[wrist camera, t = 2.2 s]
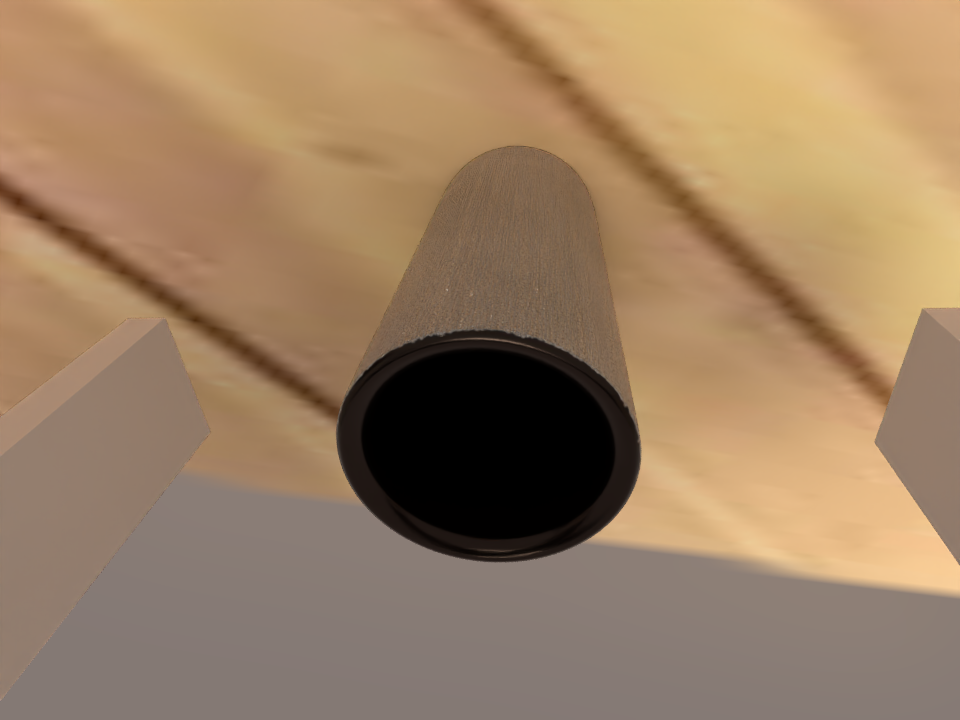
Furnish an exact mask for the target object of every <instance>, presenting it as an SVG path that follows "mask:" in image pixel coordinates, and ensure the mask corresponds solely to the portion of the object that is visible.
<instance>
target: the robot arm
mask: <svg viewBox="0 0 960 720" xmlns="http://www.w3.org/2000/svg"><path fill="white" fill-rule="evenodd" d="M209 433H210V430H209V427H208V425H207V422H206V419H205V417H204V414H203V412H202V409H201V407H200V404H199V402H198V399H197V397H196V394H195V392H194V389H193V387H192V384H191V382H190V379H189V377H188V374H187V372H186V369H185V367H184V364H183V362H182V359H181V357H180V354H179V352H178V349H177V346H176V344H175V341H174V339H173V336H172V334H171V331H170V329H169V326H168V324H167V321H166V319H165V318H128V319H127V320H125V321H124V322H123V323H121V324H120V325H119V326H117V327H116V328H115V329H114V330H112V331H111V332H110V333H108V334H107V335H106V336H104V337H103V338H102V339H101V340H99V341H98V342H97V343H95V344H94V345H93V346H92V347H90V348H89V349H88V350H86V351H85V352H84V353H82V354H81V355H80V356H79V357H77V358H76V359H75V360H73V361H72V362H71V363H69V364H68V365H67V366H66V367H64V368H63V369H62V370H60V371H59V372H58V373H56V374H55V375H54V376H53V377H51V378H50V379H49V380H47V381H46V382H45V383H43V384H42V385H41V386H40V387H38V388H37V389H36V390H34V391H33V392H32V393H31V394H29V395H28V396H27V397H25V398H24V399H23V400H21V401H20V402H19V403H18V404H16V405H15V406H14V407H12V408H11V409H10V410H8V411H7V412H6V413H5V414H3V415H2V416H1V417H0V701H1V700H2V699H3V697H4V696H5V695H6V693H7V692H8V691H9V689H10V688H11V687H12V686H13V684H14V683H15V682H16V681H17V679H18V678H19V677H20V675H21V674H22V673H23V672H24V670H25V669H26V668H27V666H28V665H29V664H30V663H31V661H32V660H33V659H34V657H35V656H36V655H37V654H38V652H39V651H40V650H41V649H42V647H43V646H44V645H45V643H46V642H47V641H48V640H49V638H50V637H51V636H52V635H53V633H54V632H55V631H56V629H57V628H58V627H59V626H60V624H61V623H62V622H63V620H64V619H65V618H66V617H67V615H68V614H69V613H70V611H71V610H72V609H73V608H74V606H75V605H76V604H77V603H78V601H79V600H80V599H81V597H82V596H83V595H84V594H85V592H86V591H87V590H88V588H89V587H90V586H91V584H92V583H93V582H94V581H95V579H96V578H97V577H98V576H99V574H100V573H101V572H102V570H103V569H104V568H105V566H106V565H107V564H108V563H109V562H110V560H111V559H112V558H113V556H114V555H115V554H116V553H117V551H118V550H119V549H120V547H121V546H122V545H123V544H124V542H125V541H126V540H127V538H128V537H129V536H130V534H131V533H132V532H133V531H134V529H135V528H136V527H137V526H138V524H139V523H140V522H141V521H142V519H143V518H144V517H145V515H146V514H147V513H148V512H149V510H150V509H151V508H152V506H153V505H154V504H155V503H156V501H157V500H158V499H159V498H160V496H161V495H162V494H163V492H164V491H165V490H166V489H167V487H168V486H169V485H170V483H171V482H172V481H173V480H174V478H175V477H176V476H177V474H178V473H179V472H180V471H181V469H182V468H183V467H184V465H185V464H186V463H187V462H188V460H189V459H190V458H191V457H192V455H193V454H194V453H195V451H196V450H197V449H198V448H199V446H200V445H201V444H202V442H203V441H204V440H205V439H206V437H207V436H208V435H209ZM875 444H876V445H877V447H878V448H879V450H880V451H881V453H882V454H883V455H884V457H885V458H886V460H887V461H888V463H889V464H890V466H891V467H892V468H893V470H894V471H895V473H896V474H897V476H898V477H899V478H900V480H901V481H902V483H903V484H904V486H905V487H906V489H907V490H908V491H909V493H910V494H911V496H912V497H913V499H914V500H915V502H916V503H917V504H918V506H919V507H920V509H921V510H922V512H923V513H924V515H925V516H926V517H927V519H928V520H929V522H930V523H931V525H932V526H933V527H934V529H935V530H936V532H937V533H938V535H939V536H940V538H941V539H942V540H943V542H944V543H945V545H946V546H947V548H948V549H949V551H950V552H951V553H952V555H953V556H954V558H955V559H956V561H957V562H958V564H959V565H960V308H922V311H921V314H920V316H919V319H918V322H917V325H916V328H915V330H914V333H913V336H912V339H911V342H910V344H909V347H908V350H907V353H906V355H905V358H904V361H903V364H902V367H901V369H900V372H899V375H898V378H897V381H896V383H895V386H894V389H893V392H892V394H891V397H890V400H889V403H888V406H887V408H886V411H885V414H884V417H883V420H882V422H881V425H880V428H879V431H878V433H877V436H876V439H875Z"/></svg>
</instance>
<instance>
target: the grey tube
mask: <svg viewBox="0 0 960 720" xmlns="http://www.w3.org/2000/svg"><path fill="white" fill-rule="evenodd" d="M336 441H337V450H338V455H339V459H340V463H341V466H342V469H343V471H344V474H345V476H346V478H347V480H348V482H349V484H350V486H351V487H352V489H353V491H354V492H355V494H356V495H357V496H358V498H359V499H360V500H361V502H362V503H363V504H364V505H365V506H366V507H367V509H368V510H369V511H370V512H371V513H372V514H373V515H375V517H377V518H378V519H379V520H380V521H382V523H384V524H385V525H386V526H388V527H389V528H390V529H392V530H393V531H395V532H396V533H398V534H399V535H401V536H403V537H405V538H406V539H408V540H410V541H412V542H414V543H416V544H418V545H420V546H422V547H425V548H427V549H430V550H433V551H435V552H438V553H442V554H445V555H448V556H453V557H456V558H461V559H466V560H473V561H483V562H518V561H527V560H533V559H538V558H543V557H547V556H550V555H554V554H557V553H560V552H563V551H565V550H568V549H570V548H572V547H574V546H577V545H578V544H580V543H582V542H584V541H586V540H587V539H589V538H591V537H592V536H594V535H595V534H596V533H598V532H599V531H601V530H602V529H603V528H604V527H605V526H607V525H608V524H609V523H610V522H611V521H612V520H613V519H614V518H615V517H616V515H617V514H618V513H619V512H620V511H621V509H622V508H623V507H624V505H625V504H626V502H627V500H628V499H629V497H630V495H631V493H632V491H633V489H634V487H635V484H636V481H637V478H638V474H639V470H640V464H641V441H640V434H639V428H638V423H637V418H636V413H635V408H634V403H633V398H632V393H631V388H630V383H629V378H628V373H627V368H626V363H625V358H624V353H623V348H622V343H621V339H620V334H619V329H618V324H617V319H616V314H615V309H614V304H613V299H612V294H611V289H610V284H609V279H608V274H607V270H606V265H605V260H604V255H603V250H602V245H601V240H600V235H599V230H598V225H597V220H596V215H595V210H594V207H593V203H592V201H591V198H590V196H589V193H588V191H587V189H586V187H585V185H584V183H583V182H582V180H581V179H580V177H579V176H578V175H577V174H576V172H575V171H574V170H573V169H572V168H571V167H570V166H569V165H567V164H566V163H565V162H563V161H562V160H561V159H559V158H557V157H556V156H554V155H552V154H550V153H548V152H545V151H542V150H539V149H535V148H531V147H522V146H512V147H503V148H498V149H495V150H492V151H489V152H486V153H484V154H482V155H480V156H478V157H476V158H475V159H473V160H472V161H470V162H469V163H468V164H467V165H466V166H464V167H463V168H462V169H461V170H460V171H459V172H458V174H457V175H456V176H455V177H454V179H453V180H452V181H451V183H450V184H449V186H448V187H447V189H446V191H445V193H444V195H443V196H442V199H441V201H440V203H439V205H438V207H437V209H436V211H435V213H434V215H433V217H432V219H431V221H430V223H429V225H428V227H427V229H426V231H425V233H424V235H423V237H422V239H421V241H420V243H419V245H418V247H417V249H416V251H415V253H414V255H413V257H412V260H411V262H410V264H409V266H408V268H407V270H406V272H405V274H404V276H403V278H402V280H401V282H400V284H399V286H398V288H397V290H396V292H395V294H394V296H393V298H392V300H391V302H390V304H389V306H388V308H387V310H386V312H385V314H384V316H383V318H382V321H381V323H380V325H379V327H378V329H377V331H376V333H375V335H374V337H373V339H372V341H371V343H370V345H369V347H368V349H367V351H366V353H365V355H364V357H363V359H362V361H361V363H360V365H359V367H358V369H357V371H356V373H355V376H354V378H353V380H352V382H351V384H350V386H349V388H348V390H347V392H346V395H345V397H344V399H343V402H342V404H341V407H340V411H339V414H338V420H337V429H336Z"/></svg>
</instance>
